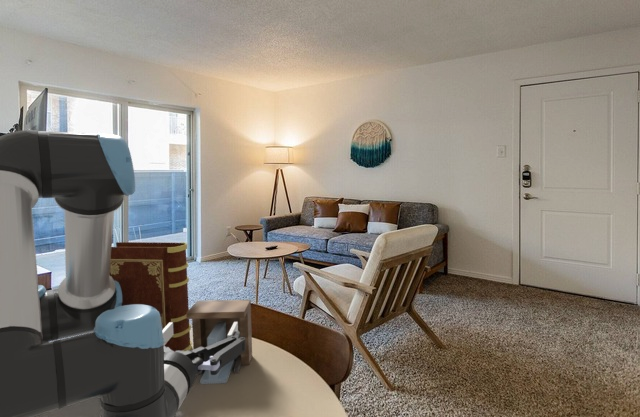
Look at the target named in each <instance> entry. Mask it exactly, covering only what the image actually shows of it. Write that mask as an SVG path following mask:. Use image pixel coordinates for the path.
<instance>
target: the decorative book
mask: <svg viewBox="0 0 640 417" xmlns="http://www.w3.org/2000/svg"><path fill="white" fill-rule="evenodd" d="M115 245H116V246H112V247H111V261H110V274H109V275H110V276H111V277H112V278H113V280H114V281H117V282H118V283H119V284H120V287H121V291H122V306H124V305H133V304H143V305H149V306H152V307H154V308H155V309H156V310H157V311H159V313H160V316H161V324H162V330H163V329H164V328H165V327H166V326H167V324H168V323H169V322H173V334H174V335H173V336H172V337H171V338H170V339H169V341H168V342H167V343H166V344H165V345H164V346H165V347H169V348H170V349H171V350H172V351H174V352H175V351H188V350H190V351H191V350H192V346H193V341H192V340H191V332H190V331H191V330H192V323H190V319H186V313H187V312H188V310H189V309H190V307H189V290H188V288H189V287H188V283H189V281H190V279H189V276H188V267H189V262H187V250H188V243H187V242H150V241H149V242H147V241H145V242H143V241H142V242H138V241H137V242H135V241H134V242H132V241H130V242H129V241H125V242H122V241H121V242H120V241H119V242H118V241H117V242H116V243H115Z"/></svg>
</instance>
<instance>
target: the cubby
mask: <svg viewBox="0 0 640 417" xmlns="http://www.w3.org/2000/svg"><path fill="white" fill-rule="evenodd" d="M251 301H252V300H251V299H220V300H218V299H214V300H211V299H210V300H197V301H196V302H195V303H193V305H192V306H191V307H189V310H188V312H187V313H186V319H189V320H191V330H192V346H193V347H192V348H193V349H192V350H194V349H196V348H199V347H201V346H202V347H204V348H205V347H207V338H208V336H209V335H210V333H211V332H212V330H213V328H214V327H215V325H216V324H217V322H226V339H227V335H228V333H229V331H230V329H231V327H232V325H233V323H234V322H238V331H239V332H240V338H241V337H244V338H245V352H243V353H242V354H240V355H239V356H238V357H236V358H235V363H234V366H233V374H239V372H240V369H241V368H242V366H250V363H251V362H252V358H253V339H252V337H253V336H252V335H253V334H252V310H251V309H252V308H251V306H252V305H251V303H252V302H251ZM198 355H199V356H200V354H198ZM204 372H205V370H202V371H201V372H200V373H199V374H198V375H202V374H203V373H204Z"/></svg>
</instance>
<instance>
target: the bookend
mask: <svg viewBox="0 0 640 417" xmlns="http://www.w3.org/2000/svg"><path fill="white" fill-rule="evenodd" d="M224 339H226V322H217V324H216V325H215V327H214V328H213V330H212V332H211V333H210V335H209V336H208V338H207V347H208V346H210V345H212V344H215V343H217V342H219V341H222V340H224ZM235 364H236V362H235V359H233V360H232V361H231V362H229V363H228V364H226V365H225V366H224V367H222V368H221V369H220V371H219V372H218V373H217V374H216V375H211V372H210V370H204V371H203V373H202V374H203V375H202V376H201V378H200V384H201V385H202V384H203V385H204V384H227V382H228V380H229V378H230V375H231V373H232V370H233V369H234V366H235Z"/></svg>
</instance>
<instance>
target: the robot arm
mask: <svg viewBox="0 0 640 417" xmlns="http://www.w3.org/2000/svg"><path fill="white" fill-rule="evenodd" d="M135 192H136V179H135V168H134V163H133V159H132V154H131V152H130V147H129V145H128V143H127V141H126V139H124V137H123V136H120V135H118V134H108V133H107V134H106V133H102V132H97V133H89V132H88V133H86V132H67V131H49V130H47V131H45V130H37V129H36V130H35V129H24V130H16V131H13V132H9V133H5V134H3V135H0V417H38V416H40V415H43V414H46V413H50V412H52V411H55V410H60V409H63V408H66V407H69V406H73V405H76V404H79V403H83V402H86V401H89V400H93V399H96V398H98V397H99V402H100V403H99V404H100V416H101V417H175V416H176V415H177V413H178V411H179V409H180V408H181V406H182V404H183V402H184V400H185V399H186V397H187V396H188V394H189V392H190V390H191V389H192V387H193V385H194V383H195V381H196V378H197V376H198V375H200V374H199V373H200V372H201V371H202V370H204V371H205V370H210V372H211V375H216V374H217V373H218V372H219V371H220V369H221V368H222V367H224V366H225V365H226V364H228V363H229V362H231V361H232V360H233V359H235V358H236V357H238V356H239V355H240V354H242V353H243V352H245V338H244V337H241V338H240V332H239V331H238V322H234V323H233V325H232V327H231V329H230V331H229V333H228V335H227V339H224V340H222V341H219V342H217V343H215V344H212V345H210V346H208V347H205V348H204V347H202V346H201V347H199V348H196V349H194V350H193V349H190V350H188V351H175V352H174V351H172V350H171V349H170V348H169V347H165V346H164V345H165V344H166V343H167V342H168V341H169V339H170V338H171V337H172V336H173V335H174V334H173V322H169V323H168V324H167V326H166V327H165V328H164V329H163V330H162V324H161V316H160V313H159V311H157V310H156V309H155V308H154V307H152V306H149V305H143V304H133V305H124V306H122V291H121V287H120V284H119V283H118V282H117V281H114V280H113V278H112V277H111V276H110V275H109V274H110V261H111V247H113V245H112V244H113V232H114V231H113V230H114V220H115V217H114V216H115V211H118V210H119V209H120V208H121V207H122V205H123V204H124V200H125V199H124V198H125V197H129V196H130V195H133V194H135ZM39 199H54V201H55V203H56V205H57V206H58V207H59V208H60V209H61V210H63V211H64V245H65V246H64V248H65V249H64V250H65V252H64V254H65V257H64V258H65V259H64V260H65V278H63V279H62V280H61V282H60V283H59V285H58V287H57V289H52V290H47V289H46V287H45V285H42V284H39V278H38V268H37V267H38V266H37V265H38V264H37V257H36V256H37V254H36V243H35V242H36V241H35V230H34V218H33V208H34V207H35V206H36V205H37V203H38V200H39ZM198 354H200V356H199V355H198Z"/></svg>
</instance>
